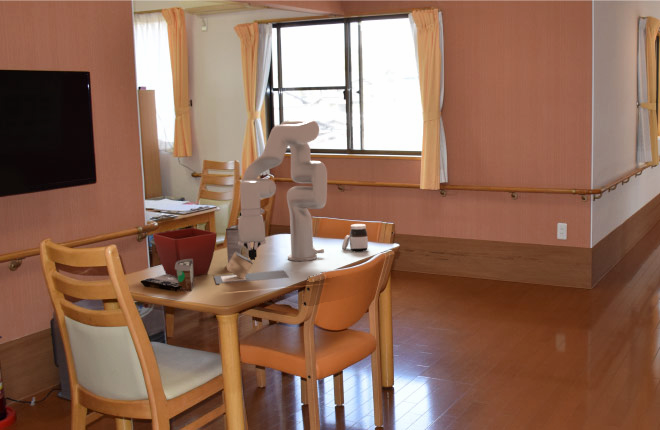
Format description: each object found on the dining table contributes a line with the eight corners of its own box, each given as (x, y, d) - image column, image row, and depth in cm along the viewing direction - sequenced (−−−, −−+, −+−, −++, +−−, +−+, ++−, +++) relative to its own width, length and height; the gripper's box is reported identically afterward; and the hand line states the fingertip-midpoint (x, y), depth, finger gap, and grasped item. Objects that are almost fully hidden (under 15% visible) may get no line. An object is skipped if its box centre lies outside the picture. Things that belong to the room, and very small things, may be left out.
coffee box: (234, 261, 320) (232, 224, 318) (248, 261, 319) (246, 224, 317) (227, 265, 312) (225, 228, 309) (242, 266, 310) (240, 228, 308)
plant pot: (220, 273, 298) (217, 232, 296) (178, 282, 286) (175, 239, 283) (195, 266, 312) (192, 227, 310) (154, 274, 300) (151, 233, 297)
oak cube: (235, 251, 289) (226, 266, 289) (237, 254, 282) (227, 270, 282) (250, 260, 291) (241, 275, 291) (252, 263, 284) (243, 279, 284)
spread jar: (369, 252, 331) (368, 226, 329) (344, 253, 329) (343, 227, 327) (364, 247, 343) (363, 222, 341) (340, 248, 341) (339, 223, 339)
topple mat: (283, 271, 298) (283, 270, 298) (289, 278, 285) (289, 277, 285) (213, 277, 291) (213, 275, 291) (216, 284, 279) (216, 283, 279)
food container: (178, 284, 281) (176, 259, 280) (194, 284, 282) (192, 258, 280) (174, 293, 269) (172, 266, 268) (191, 292, 270) (189, 265, 268)
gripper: (268, 210, 290) (270, 256, 292) (230, 212, 286) (232, 259, 289) (271, 212, 283) (273, 259, 285) (232, 215, 279) (234, 262, 281)
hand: (252, 259), depth 287 cm, fingers closed
